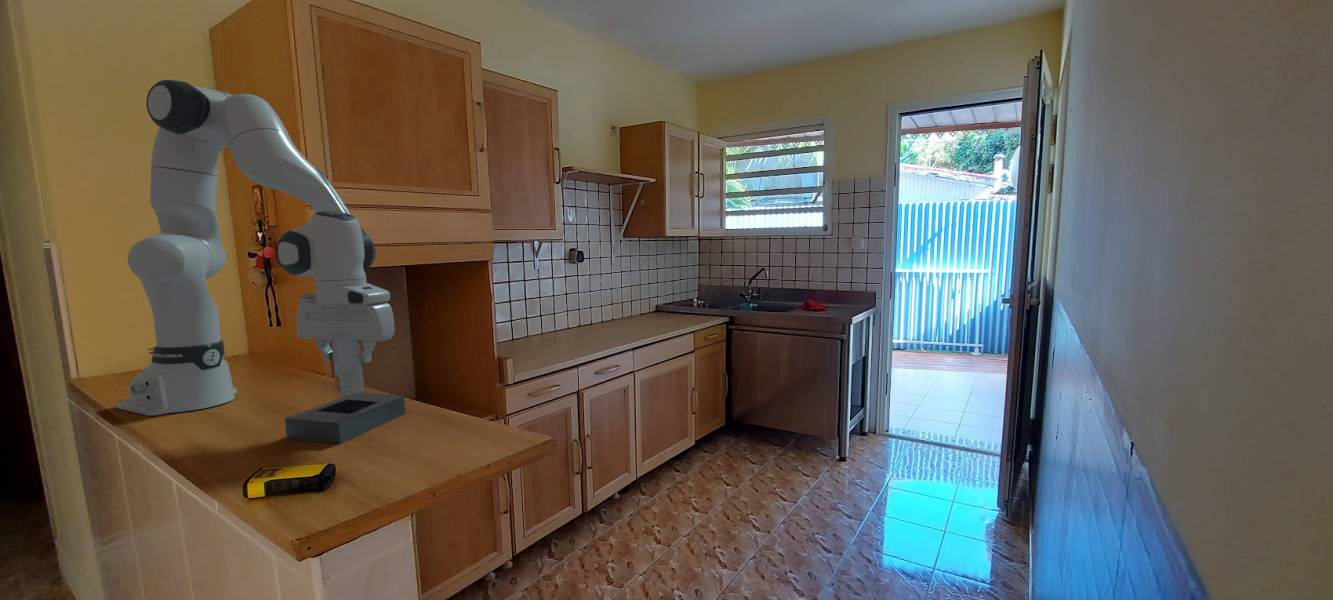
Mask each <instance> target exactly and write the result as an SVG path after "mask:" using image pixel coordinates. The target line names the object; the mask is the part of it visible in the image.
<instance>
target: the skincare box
mask: <svg viewBox="0 0 1333 600" xmlns="http://www.w3.org/2000/svg"><path fill="white" fill-rule="evenodd" d="M330 341H331V342H330V343H331V349H332V353H333V360H332V363H333V371H334V381H335V382H334V383H335V390H336V391H337V392H338V393H339V394H340V396H341V397H346V396H349V395H351V394H356V393H365V385H364V376H363V367H362V365H363V364H362V363H363V362H359V359H360V358H359V354H361V344H360V343H361V341H357V340H350V338H349V336H343V335H334V336H333V340H330Z"/></svg>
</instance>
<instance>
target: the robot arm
mask: <svg viewBox="0 0 1333 600" xmlns="http://www.w3.org/2000/svg"><path fill="white" fill-rule="evenodd" d="M145 106H146V109H147V113H148V115H149V117H150V118H151V120H152V122H153V123H154V124H155V125H156V126H157V127H158V129H157V132H156V136H155V138H154V139H155V140H154V143H153V146H152V147H153V148H152V153H151V154H152V155H151V161H150V163H151V165H150V166H151V167H150V187H149V188H150V191H149V193H150V194H149V204H150V206H151V208H152V209H153V211H154V213H155V214H156V215H155V216H156V218H157V222H158V227H159V230H160V231H159V232H160V233H159V234H158V233H157V234H154V235H151V236H149V237H145V238H143V239H141V240H139V241H138V242H136V243H134V244H133V246H131V248H130V249H129V252H128V254H127V264H128V267H129V269H130V270H131V272H132V273H133V274H134V275H135V276H136V277H137V278H138V279H139V280H140V282H141V285H142V287H143V290H144V291H145V295H146V296H147V300H148V302H149V305H150V308H151V311H152V316H153V322H154V323H153V325H154V331H155V343H156V345H155V347H154V348H153V347H152V348H148V349H147V350H148V351H150V352H148V353H147V354H148V355H152V356H151V363H150V364H149V365H148V366H147V367H145V369H143V370H142V371H141V372H140V373H138V374H137V375H136V376H134V377H133V378H132V379H131V381H130V383H129V398H128V399H124V400H121V401H119V402H117V403H116V404H115V408H116V409H119V410H123V411H127V412H132V413H136V414H140V415H145V416H149V417H152V416H153V417H154V416H160V415H165V414H171V413H181V412H189V411H197V410H201V409H207V408H211V407H216V406H219V405H222V404H225V403H228V402H230V401H232V400H234V399H235V398H236V396H235V395H236V394H237V393H238V390H237V389H238V388H236V387H234V386H233V382H232V376H231V371H230V367H229V363H228V362H227V360H225V359H224V357H223V356H225V355H226V354H225V352H226V351H225V349H226V348H225V344H224V340H223V339H222V338H221V325H220V315H219V308H218V305H217V304H216V303H215V301H214V300H213V298H212V295H211V293H210V290H209V287H208V284H207V280H208V279H211V278H212V277H214V276H215V275H217V274H218V273H220V271H221V270H222V269H223V268H224V267H225V265H226V263H227V253H226V251H225V249H224V247H223V245H222V238H221V231H220V228H219V227H220V226H219V222H218V221H219V220H218V212H217V200H218V199H217V198H218V197H217V196H218V175H219V174H218V171H219V169H218V167H219V166H218V165H219V164H218V159H219V154H220V152H221V151H222V150H224V149H225V148H227V147H228V149H229V152H230V154H231V156H232V158H233V161H234V163H235V164H236V166H237V167H238V169H239V170H240V171H241V172H242V174H243V175H244V176H245V177H246V178H248V179H249V180H250V181H253V182H254V183H255V184H258V185H260V186H263V187H265V188H269V189H272V190H276V191H280V192H283V193H285V194H288V195H290V196H292V197H295V198H297V199H300V200H302V201H303V202H305V203H307V204H308V205H309V206H310V207H311V208H312V210H313V211H315V213H313V214H312V216H311V218H310V220H309V221H308V222H307V223H305V224H304V225H302V226H299V227H297V228H295V229H292V230H287V231H286V232H284V233H283V234H282V235H281V236H280V238H279V239H278V241H277V243H276V247H275V254H276V260H277V262H278V264H279V266H280V267H281V268H282V269H283V270H284V271H285V272H286V273H288V274H290V275H292V276H297V277H314V285H315V287H314V288H315V293H314V292H313V293H311V292H305V293H303V295H300V297H299V298H298V299H297V300H298V301H297V310H296V335H298V337H299V338H300V339H303V340H305V339H306V340H308V339H309V340H315V341H316V346H317V348H318V349H319V350H320V352H321V353H322V360H323V361H324V362H331V361H332V362H333V353H332V346H330V343H331V340H333V336H334V335H343V336H349V338H350V340H357V341H359V342H361V344H362V345H361V346H363V347H364V348H363V351H362V353H361V354H359V358H360V359H359V362H361V363H370V362H372V360H373V358H372V352H373V351H374V349H375V347H376V344H377V342H384V341H387V340H390V339H392V338H393V336H394V335H395V333H396V331H395V329H396V328H395V318H394V313H393V309H392V306H391V304H389V303H388V302H389V301H390V299H391V292H390V291H388V290H386V289H384V288H381V287H379V286H376V285H374V284H371V283H368V282H367V276H366V275H367V274H366V272H367V271H368V270H369V269H370V268H371V266H372V265H373V263H374V261H375V258H376V254H377V253H376V246H375V245H374V242H373V240H372V238H371V237H370V236H369V234H367V232H366V231H365V230H364V229H363V228H362V227H361V225H360V222H359V220H358V218H357V217H356V216H354V215H353V214H351V213H350V211H349V209H348V208H347V206H346V205H345V203H344V202H343V200H342V198H341V197H340V196H339V194H338V193H337V191H336V189H335V188H334V186H333V185H332V183H331V182H330V180H329V179H328V178H327V176H326V175H325V174H324V173H323V172H322V171H321V170H320V169H318V168H317V167H315V166H314V165H313V164H312V163H311V162H309V160H307V158H305V157H304V155H303V154H302V153H301V152H300V150H298V148H297V147H296V145H295V143H294V142H293V140H292V138H291V137H290V134H289V133H288V130H287V128H286V127H285V125H284V123H283V122H282V120H281V118H280V117H279V115H278V114H277V113H276V111H275V110H274V109H273V107H272V106H271V104H269V103H268V101H266V100H265V99H263V98H262V97H260V96H258V95H254V94H251V93H236V94H230V93H228V92H226V91H221V90H218V89H217V90H216V89H211V88H208V87H204V86H198V85H193V84H190V83H188V82H186V81H182V80H175V79H162V80H159V81H157V82H156V83H155V84H154V85H152V86H151V88H150V89H149V90H148V92H147V96H146V105H145ZM152 350H153V351H152Z"/></svg>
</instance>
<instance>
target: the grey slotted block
mask: <svg viewBox="0 0 1333 600" xmlns="http://www.w3.org/2000/svg"><path fill="white" fill-rule="evenodd" d="M405 406H406V405H405V395H398V394H386V393H385V394H384V393H371V392H369V393H367V392H362V393H356V394H350V395H345V396H342V397H340V398H338V399H335V400H332V401H329V402H327V403H324V404H321V405H318V406H316V407H315V406H314V407H313V408H310V409H307V410H304V411H302V412H299V413H296V414H294V415H291V416H289V417H284V424H285V436H286V437H285V438H286V439H288V440H296V441H305V442H306V441H310V442H317V443H329V444H338V445H339V444H343V443H345V442H347V441H349V440H351V439H354V438H356V437H358V436H361V435H362V434H364V433H367V432H369V431H371V430H373V429H375V428H378V427H379V426H381V425H384V424H385V423H388V422H391V421H392V420H395V419H396V418H397V419H398V418H399V417H401V416H403V415H405V414H406V407H405Z"/></svg>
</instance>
